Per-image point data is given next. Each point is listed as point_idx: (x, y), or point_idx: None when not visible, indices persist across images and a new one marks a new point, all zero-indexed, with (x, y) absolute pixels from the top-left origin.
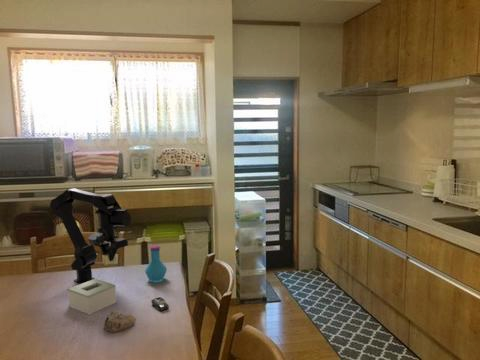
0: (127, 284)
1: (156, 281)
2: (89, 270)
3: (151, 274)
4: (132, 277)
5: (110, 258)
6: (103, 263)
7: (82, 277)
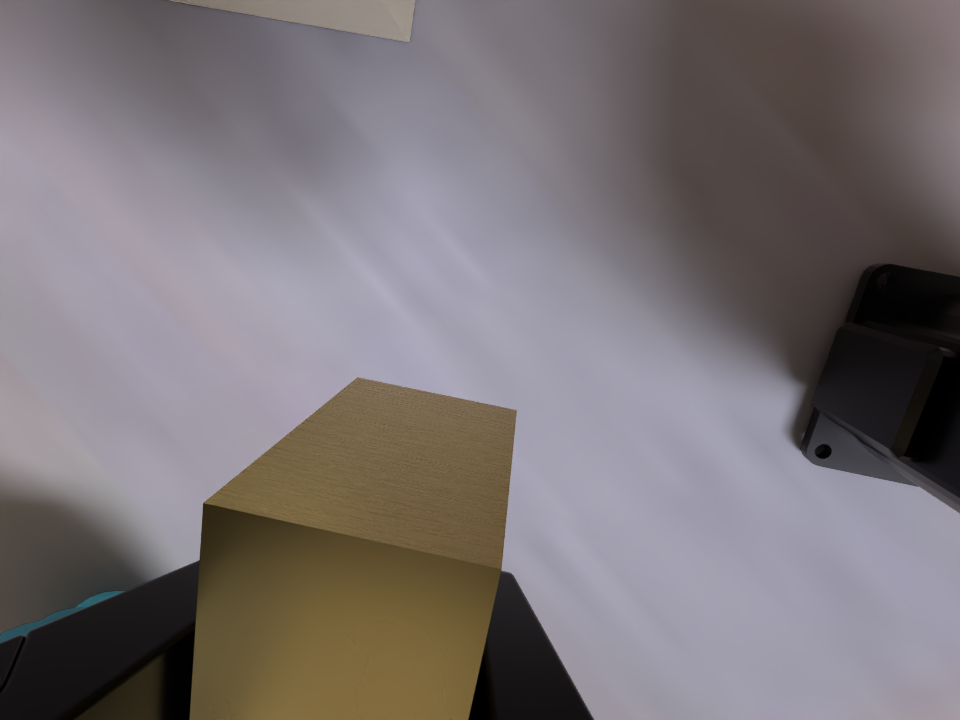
0: None
1: (77, 607)
2: (937, 441)
3: (9, 636)
4: None
5: None
6: (475, 407)
7: (956, 318)
